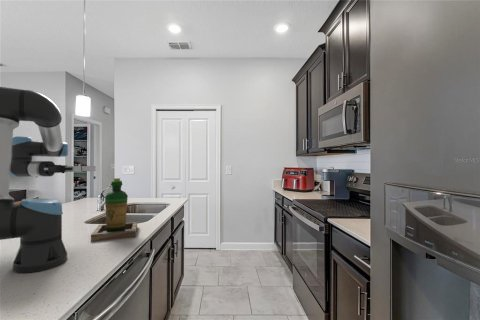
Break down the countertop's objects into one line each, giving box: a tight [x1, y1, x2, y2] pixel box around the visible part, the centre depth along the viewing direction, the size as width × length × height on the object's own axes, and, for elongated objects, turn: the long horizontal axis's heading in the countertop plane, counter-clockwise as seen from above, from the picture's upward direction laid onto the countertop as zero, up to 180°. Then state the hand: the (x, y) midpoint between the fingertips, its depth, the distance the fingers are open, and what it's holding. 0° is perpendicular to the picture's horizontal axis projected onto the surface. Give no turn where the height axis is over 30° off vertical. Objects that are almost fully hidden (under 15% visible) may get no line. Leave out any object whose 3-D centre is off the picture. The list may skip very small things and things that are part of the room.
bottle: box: [104, 177, 128, 232], centre depth 124 cm, size 11×11×28 cm
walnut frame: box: [90, 221, 138, 242], centre depth 124 cm, size 19×19×3 cm
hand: (88, 168), depth 121 cm, fingers open, 13 cm apart
